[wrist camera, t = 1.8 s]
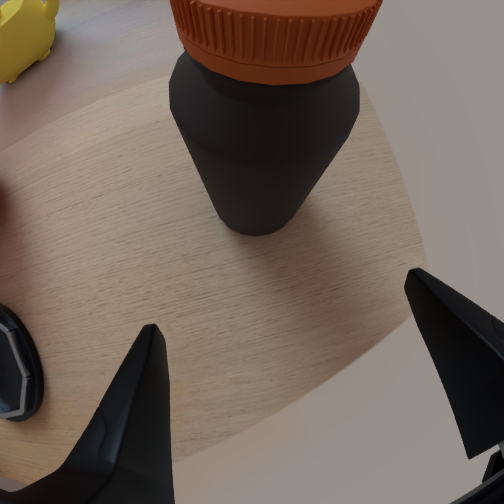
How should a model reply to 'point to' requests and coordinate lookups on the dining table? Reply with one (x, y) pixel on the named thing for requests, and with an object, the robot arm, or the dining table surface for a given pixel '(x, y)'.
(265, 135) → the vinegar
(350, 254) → the dining table surface
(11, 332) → the stand
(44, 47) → the teapot
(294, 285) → the dining table surface
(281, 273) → the dining table surface
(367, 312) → the dining table surface
